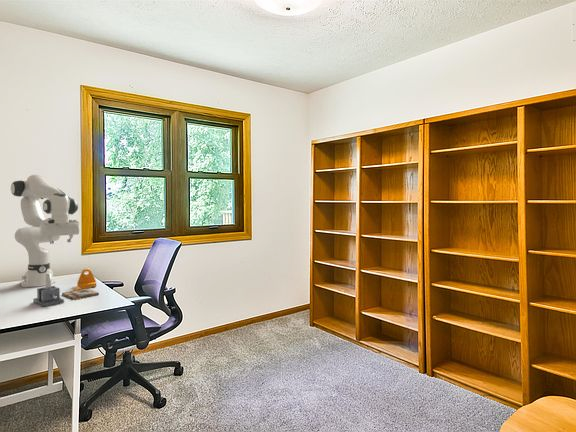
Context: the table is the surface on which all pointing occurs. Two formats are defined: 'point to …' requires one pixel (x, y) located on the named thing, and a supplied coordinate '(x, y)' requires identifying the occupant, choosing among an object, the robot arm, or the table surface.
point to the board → (72, 296)
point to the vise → (48, 294)
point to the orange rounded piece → (86, 279)
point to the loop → (81, 291)
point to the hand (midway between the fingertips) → (60, 242)
